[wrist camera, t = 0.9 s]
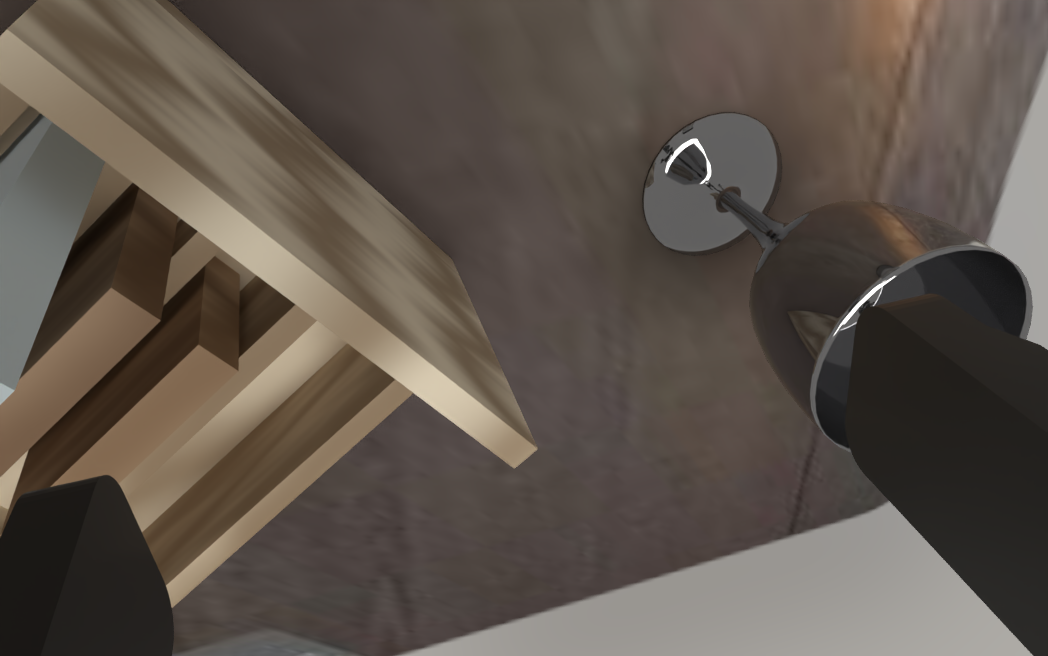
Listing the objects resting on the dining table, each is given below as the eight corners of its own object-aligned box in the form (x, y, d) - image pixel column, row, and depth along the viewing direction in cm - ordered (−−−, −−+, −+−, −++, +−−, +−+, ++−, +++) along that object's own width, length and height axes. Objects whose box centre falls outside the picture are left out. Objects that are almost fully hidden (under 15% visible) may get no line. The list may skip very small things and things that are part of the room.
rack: (-285, 367, 31) (-574, 673, 20) (102, -60, 28) (6, 28, 17) (126, 557, 41) (82, 834, 30) (451, 259, 37) (537, 448, 26)
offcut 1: (-63, 382, 32) (-154, 552, 25) (143, 171, 30) (111, 288, 23) (-23, 403, 33) (-99, 573, 26) (180, 199, 31) (160, 320, 24)
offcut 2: (41, 413, 34) (-1, 535, 28) (206, 250, 33) (198, 344, 27) (76, 432, 35) (43, 554, 29) (239, 274, 33) (238, 371, 28)
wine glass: (625, 130, 36) (816, 294, 24) (790, 82, 37) (1053, 217, 25) (643, 282, 41) (812, 485, 29) (789, 236, 42) (1012, 413, 30)
